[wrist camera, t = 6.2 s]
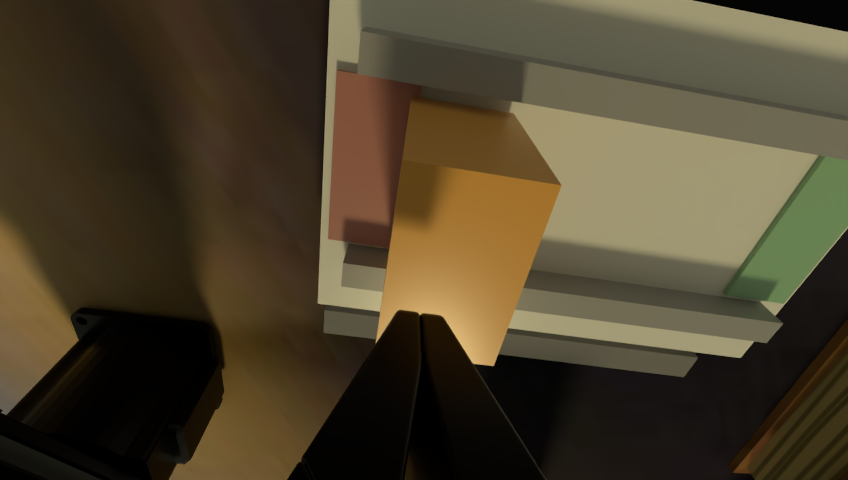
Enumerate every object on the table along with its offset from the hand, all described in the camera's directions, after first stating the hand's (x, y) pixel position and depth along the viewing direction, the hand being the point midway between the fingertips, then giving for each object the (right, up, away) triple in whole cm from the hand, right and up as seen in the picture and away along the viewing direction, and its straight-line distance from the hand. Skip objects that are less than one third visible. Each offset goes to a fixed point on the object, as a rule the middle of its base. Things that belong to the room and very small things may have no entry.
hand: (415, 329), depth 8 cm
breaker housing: (+6, +4, +9) cm, 11 cm away
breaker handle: (+1, +3, +5) cm, 7 cm away
